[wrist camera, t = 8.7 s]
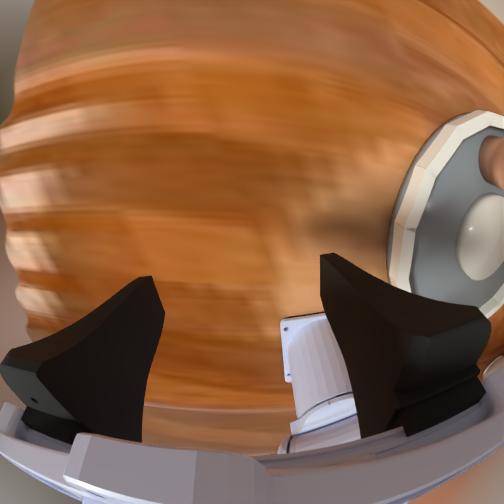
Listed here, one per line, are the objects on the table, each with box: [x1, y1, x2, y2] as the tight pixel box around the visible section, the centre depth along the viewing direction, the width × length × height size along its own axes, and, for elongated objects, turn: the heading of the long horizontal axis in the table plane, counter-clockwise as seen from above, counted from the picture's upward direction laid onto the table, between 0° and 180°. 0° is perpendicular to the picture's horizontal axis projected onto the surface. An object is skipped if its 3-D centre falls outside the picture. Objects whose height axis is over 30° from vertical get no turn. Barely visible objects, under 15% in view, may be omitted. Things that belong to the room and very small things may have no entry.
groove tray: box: [386, 110, 504, 319], centre depth 19 cm, size 24×24×2 cm
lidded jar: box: [482, 355, 504, 381], centre depth 29 cm, size 11×11×9 cm
